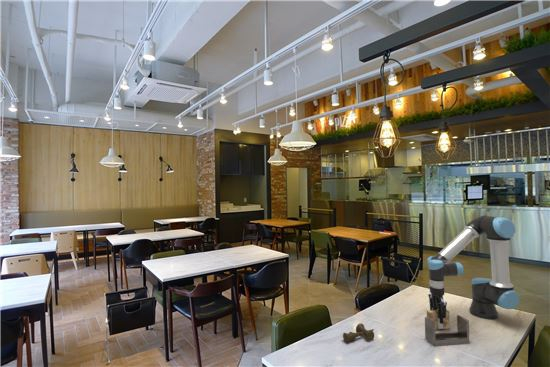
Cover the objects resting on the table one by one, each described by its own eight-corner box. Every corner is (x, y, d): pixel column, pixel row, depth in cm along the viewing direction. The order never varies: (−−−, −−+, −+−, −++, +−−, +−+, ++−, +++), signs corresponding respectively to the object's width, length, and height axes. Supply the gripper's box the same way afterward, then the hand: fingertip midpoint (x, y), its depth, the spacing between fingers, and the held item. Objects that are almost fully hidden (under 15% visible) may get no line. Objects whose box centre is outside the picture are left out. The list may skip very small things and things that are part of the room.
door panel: (445, 325, 171) (445, 308, 171) (449, 328, 168) (449, 311, 168) (427, 327, 170) (426, 310, 170) (430, 330, 167) (429, 312, 167)
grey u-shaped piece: (459, 336, 160) (459, 314, 160) (469, 343, 153) (468, 320, 153) (425, 339, 158) (424, 317, 158) (433, 346, 151) (433, 323, 151)
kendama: (339, 339, 161) (368, 330, 168) (350, 348, 152) (380, 339, 159) (339, 328, 161) (368, 320, 168) (350, 337, 152) (379, 328, 159)
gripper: (422, 282, 177) (423, 321, 177) (440, 292, 161) (441, 334, 160) (433, 281, 178) (435, 320, 177) (452, 291, 162) (454, 333, 161)
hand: (438, 326), depth 169 cm, fingers closed on door panel, 3 cm apart
